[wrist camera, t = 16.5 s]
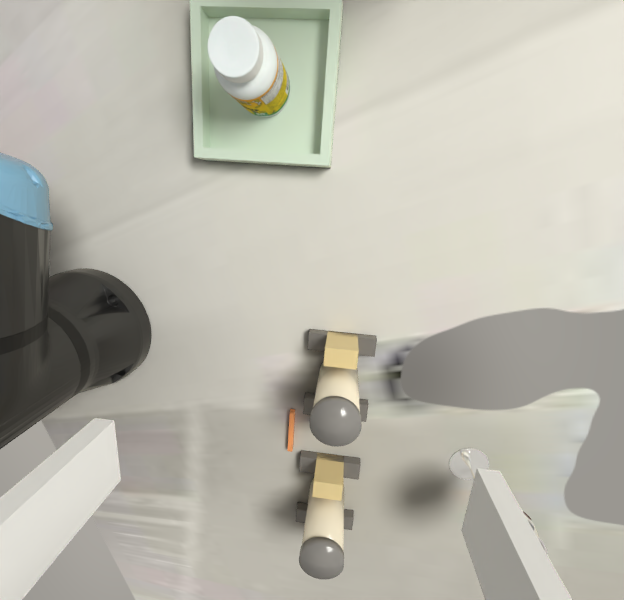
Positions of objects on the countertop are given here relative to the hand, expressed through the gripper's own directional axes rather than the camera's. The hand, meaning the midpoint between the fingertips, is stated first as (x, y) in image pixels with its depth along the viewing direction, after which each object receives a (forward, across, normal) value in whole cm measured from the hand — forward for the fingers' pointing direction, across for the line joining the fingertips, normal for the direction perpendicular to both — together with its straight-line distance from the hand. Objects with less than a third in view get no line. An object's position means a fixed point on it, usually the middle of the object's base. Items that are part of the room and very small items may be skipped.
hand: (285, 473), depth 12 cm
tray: (+29, -8, +20) cm, 36 cm away
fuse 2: (+29, +2, -29) cm, 41 cm away
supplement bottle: (+28, -8, +20) cm, 36 cm away
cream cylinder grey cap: (+29, +2, -11) cm, 31 cm away
